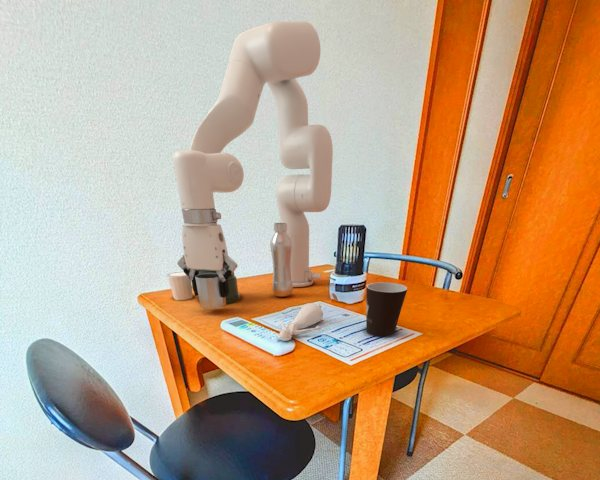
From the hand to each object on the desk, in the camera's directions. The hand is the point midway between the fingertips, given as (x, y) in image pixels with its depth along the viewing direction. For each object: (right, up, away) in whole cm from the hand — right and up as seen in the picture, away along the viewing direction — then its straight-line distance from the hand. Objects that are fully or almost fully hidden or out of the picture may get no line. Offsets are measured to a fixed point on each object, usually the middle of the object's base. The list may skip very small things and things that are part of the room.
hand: (211, 295), depth 83 cm
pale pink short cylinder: (-13, +4, +14) cm, 20 cm away
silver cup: (0, -2, +1) cm, 3 cm away
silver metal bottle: (+18, +5, +15) cm, 24 cm away
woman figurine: (+24, -11, -9) cm, 28 cm away
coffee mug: (+43, -12, -9) cm, 46 cm away
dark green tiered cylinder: (-1, +3, +13) cm, 13 cm away
